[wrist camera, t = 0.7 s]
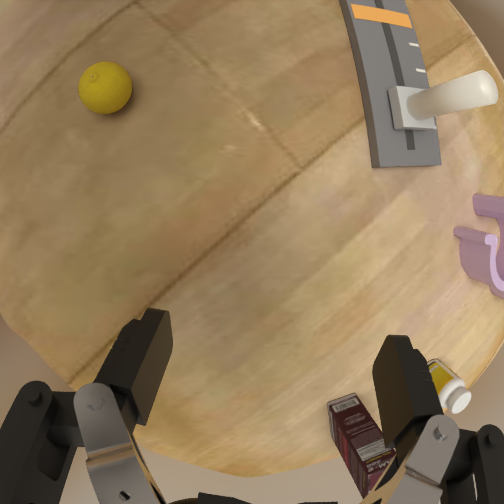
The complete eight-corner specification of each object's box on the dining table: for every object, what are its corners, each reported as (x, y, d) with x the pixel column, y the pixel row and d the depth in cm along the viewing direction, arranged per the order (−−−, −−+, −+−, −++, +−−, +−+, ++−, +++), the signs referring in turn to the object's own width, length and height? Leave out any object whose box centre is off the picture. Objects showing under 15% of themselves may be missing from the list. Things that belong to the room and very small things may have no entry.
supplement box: (357, 426, 44) (397, 493, 29) (330, 436, 44) (364, 508, 28) (356, 390, 42) (404, 461, 27) (326, 400, 42) (366, 477, 26)
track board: (332, -20, 30) (337, -28, 27) (392, -9, 30) (399, -15, 28) (372, 167, 36) (380, 167, 34) (432, 165, 36) (442, 165, 34)
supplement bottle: (411, 386, 44) (442, 420, 34) (423, 359, 43) (458, 389, 33) (433, 384, 45) (465, 414, 35) (445, 357, 44) (479, 385, 34)
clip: (521, 256, 42) (547, 265, 36) (491, 311, 44) (516, 324, 37) (480, 181, 38) (511, 183, 31) (443, 243, 39) (475, 253, 33)
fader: (387, 89, 31) (464, 55, 18) (419, 93, 32) (496, 67, 18) (394, 129, 32) (476, 110, 19) (425, 130, 33) (507, 116, 19)
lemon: (105, 72, 29) (82, 47, 22) (146, 81, 30) (129, 55, 23) (87, 114, 30) (58, 98, 23) (128, 125, 31) (105, 109, 24)
